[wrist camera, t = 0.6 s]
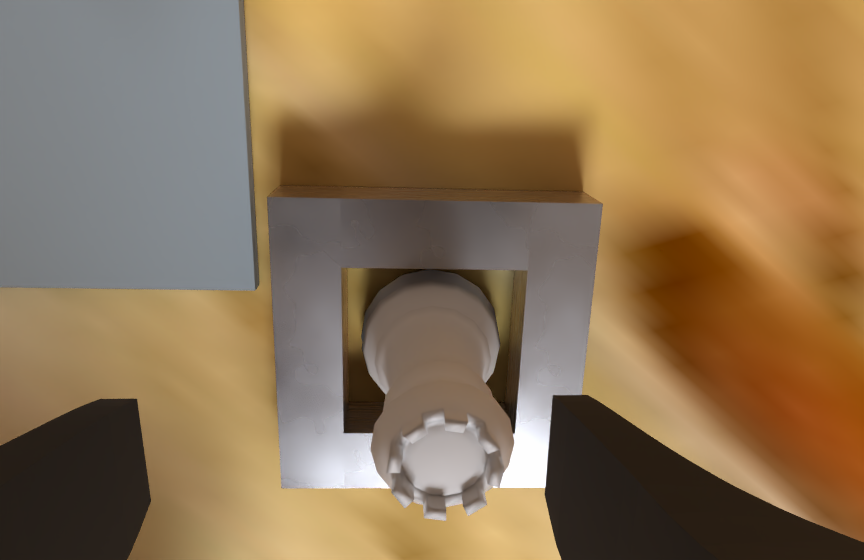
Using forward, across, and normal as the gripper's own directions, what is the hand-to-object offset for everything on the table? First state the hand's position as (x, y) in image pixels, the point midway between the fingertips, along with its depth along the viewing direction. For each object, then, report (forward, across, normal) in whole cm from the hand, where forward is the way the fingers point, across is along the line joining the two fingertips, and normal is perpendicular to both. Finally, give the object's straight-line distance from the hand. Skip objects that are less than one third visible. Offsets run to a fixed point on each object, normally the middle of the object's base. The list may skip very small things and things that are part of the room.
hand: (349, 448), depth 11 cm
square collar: (+10, -2, +2) cm, 10 cm away
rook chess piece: (+10, -2, +2) cm, 10 cm away
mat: (+10, +8, -4) cm, 14 cm away
